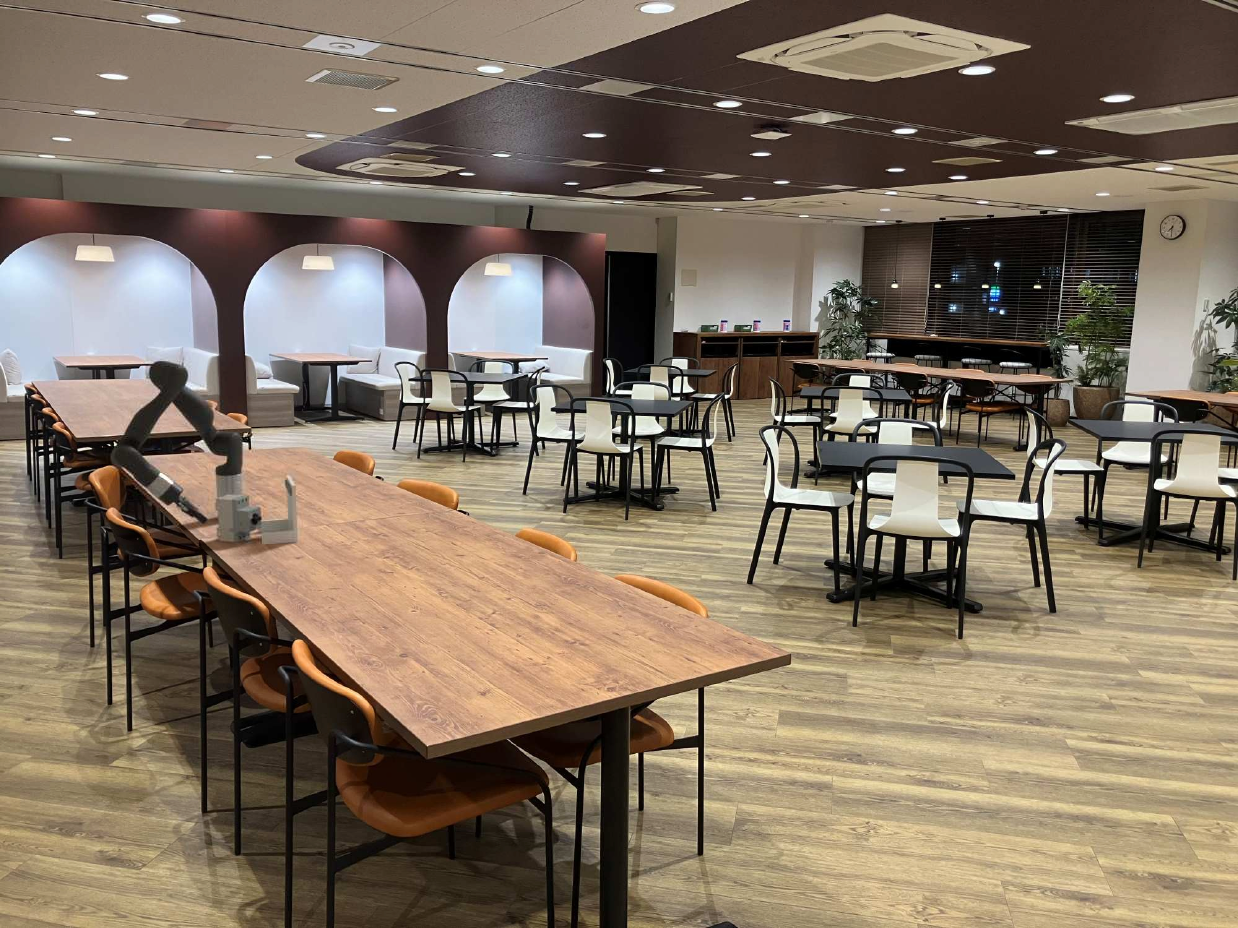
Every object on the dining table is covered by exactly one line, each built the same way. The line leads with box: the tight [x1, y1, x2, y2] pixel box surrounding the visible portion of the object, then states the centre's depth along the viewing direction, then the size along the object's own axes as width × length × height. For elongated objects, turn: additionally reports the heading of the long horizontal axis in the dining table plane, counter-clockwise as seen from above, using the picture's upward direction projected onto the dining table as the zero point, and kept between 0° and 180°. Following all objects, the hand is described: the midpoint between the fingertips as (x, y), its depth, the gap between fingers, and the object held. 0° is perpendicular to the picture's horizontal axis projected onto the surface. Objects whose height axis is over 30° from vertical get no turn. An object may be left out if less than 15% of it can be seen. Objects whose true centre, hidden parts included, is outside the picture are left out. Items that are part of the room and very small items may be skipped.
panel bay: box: [257, 475, 299, 545], centre depth 347 cm, size 20×12×20 cm, turn 24°
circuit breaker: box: [214, 494, 263, 543], centre depth 343 cm, size 8×14×15 cm, turn 78°
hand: (205, 521), depth 339 cm, fingers closed
